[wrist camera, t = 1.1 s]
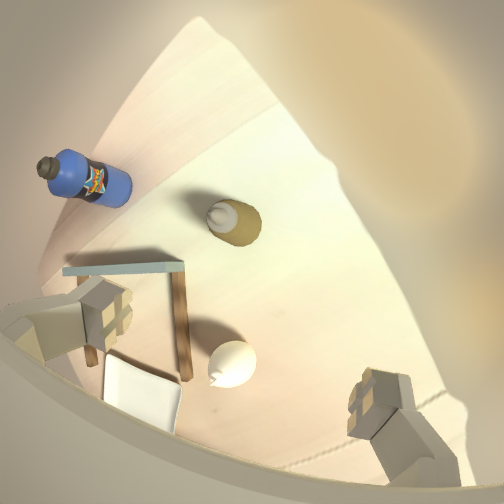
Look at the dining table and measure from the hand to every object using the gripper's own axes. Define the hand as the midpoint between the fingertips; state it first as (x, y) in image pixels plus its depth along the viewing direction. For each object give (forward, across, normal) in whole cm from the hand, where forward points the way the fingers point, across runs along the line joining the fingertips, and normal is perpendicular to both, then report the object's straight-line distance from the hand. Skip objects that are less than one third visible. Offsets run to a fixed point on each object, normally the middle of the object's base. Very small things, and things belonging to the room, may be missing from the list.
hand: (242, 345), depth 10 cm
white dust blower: (+39, -3, -38) cm, 54 cm away
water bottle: (+53, -43, -17) cm, 70 cm away
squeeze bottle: (+49, -10, -16) cm, 53 cm away
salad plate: (+32, -22, -60) cm, 71 cm away
